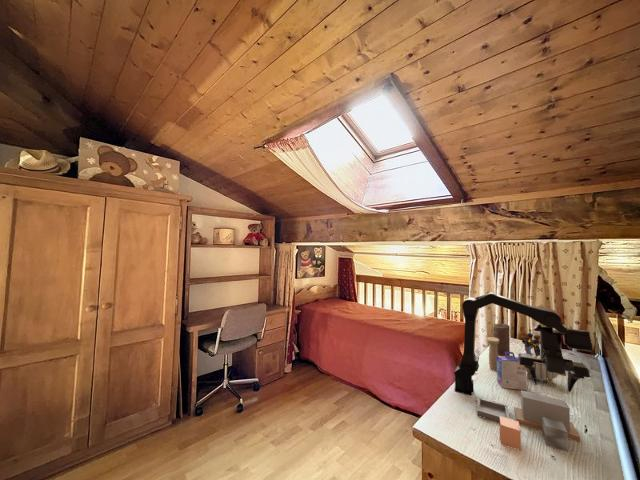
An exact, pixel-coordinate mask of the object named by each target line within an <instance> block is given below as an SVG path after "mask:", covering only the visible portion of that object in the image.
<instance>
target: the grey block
mask: <svg viewBox="0 0 640 480" xmlns="http://www.w3.org/2000/svg"><path fill="white" fill-rule="evenodd" d="M542 425H543V431H542V437H543V440H544V443H545V446H547V447H551V448H552V449H553V448H554V449H557V450H560V451H563V452H566V453H567V452H568V451H569V449H568V448H569V446H568V445H569V444H568V441H569V440H568V439H569V438H568V435H567V430H566V428H565V426H564V424H563V422H560V421H556V420H552V419H548V418H545V417H542Z"/></svg>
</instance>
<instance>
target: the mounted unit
mask: <svg viewBox="0 0 640 480" xmlns="http://www.w3.org/2000/svg"><path fill="white" fill-rule="evenodd" d="M520 393H521V394H520V399H521V401H520V402H521V404H520V407H521V408H519V407H515V406H514V407H513V409H514V411H513V412H514V415H515V421H519V425H521V426H525V427H528V428H531V429H535V430H538V431H541V432H543V425H542V417H545V418H548V419H552V420H556V421H560V422H563V424H564V426H565V428H566V430H567V435H568V439H569V440H572V441H576V442H579V443H581V436H580V434H579V432H578V431H577V429H576V427H575V425H574V423H573V422H572V421H571V419H570V418H571V416H570V411H571V410H570V406H569V405H568V403H567V402H566V400H564V399H560V398H555V397H551V396H547V395H543V394H538V393H535V392H530V391H527V390H520Z"/></svg>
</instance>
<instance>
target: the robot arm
mask: <svg viewBox="0 0 640 480" xmlns="http://www.w3.org/2000/svg"><path fill="white" fill-rule="evenodd" d="M492 304H493V305H496V306H500V307H502V308H505V309H507V310H510V311H512V312H516V313H519V314H521V315H524V316H526V317H529V318H530V319H531V320H534V321H536V322H537V323H538V324H536V325H535V326H533V330H534V331H535V332H539V336H540V339H539V344H540V354H541V359H537V358H532V356H533V355H531V354H526V352H525V353H523V352H519V353H518V354H517V355H518V356H517V357H518V359H519V362H520V364H521V365H524V367H526V368H528V369H529V371H530V372H531V377H532V379H533V382H534V385H536V386H537V385H538V384H537V383H538V381H537V380H538V379H537V378H536V375H535V368H534V366H533V365H534V364H540V365H545V366H546V369H547V371H549V372H552V373H553V372H555V373H560V374H563V375H564V374H565V373H566V372H567V392H568V393H571V392H572V391H573V389H574V386H575V384H576V382H577V381H578V380H580V379H585V378H590V375H591V373H590V369H589V368H588V367H587V365H585V364H584V363H583V362H577V361H573V360H572V359H566V358H564V357H563V351H562V342H563V344H564V345H566V346H567V348H568V349H574V350H579V351H585V352H591V353H592V351H593V343H592V340H591V336H590V333H591V332H590V331H589V330H586V329H573V328H568V327H567V325H566V324H564V323H563V322H562V318H561V316H560V315H559V313H558V312H557V311H556V310H555V309H552V308H549V307H548V308H547V307H542V306H534V305H530V304H526V303H524V302H521V301H517V300H514V299H512V298H509V297H506V296H503V295H499V294H497V293H495V292H488V293H486V294H483V295H480V296H476V297H472V296H471V297H467V298H466V299H465V300H464V301H463V302H462V304H461V305H462V306H461V308H462V313H463V318H464V336H463V337H464V340H463V353H462V355H461V360H460V363H458V365H457V366H456V367H455V369H454V372H453V374H454V391H455V392H457V393H461V394H465V395H469V396H473V393H474V392H475V391H474V379H473V376H474V375H475V374H476V372H478V370H479V367H480V364H479V360H480V357H479V356H477V355H476V352H475V349H476V348H475V347H476V323H477V321H476V320H477V317H478V313H479V310H480V309H482V308H484V307H487V306H489V305H492ZM562 339H563V341H562Z"/></svg>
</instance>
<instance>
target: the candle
mask: <svg viewBox="0 0 640 480" xmlns="http://www.w3.org/2000/svg"><path fill="white" fill-rule="evenodd" d="M492 328H493V336H492V337H494V338H498V339H499V344H497V351H498V356H505V352H511V351H510V350H511V349H510V347H511V346H510V344H511V343H510V337H511V336H510V325H509V324H507V323H494V324H493V327H492ZM507 355H510V356H511V354H510V353H509V354H507Z"/></svg>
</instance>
